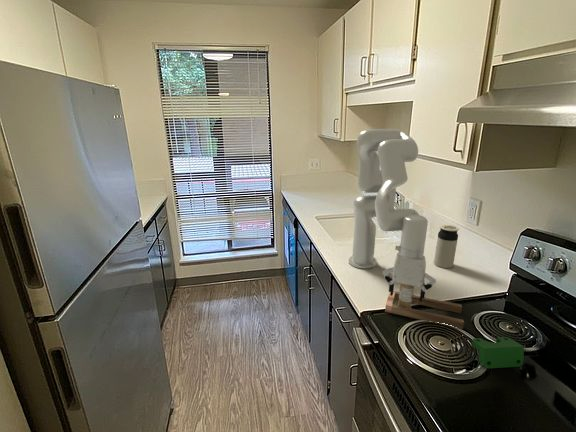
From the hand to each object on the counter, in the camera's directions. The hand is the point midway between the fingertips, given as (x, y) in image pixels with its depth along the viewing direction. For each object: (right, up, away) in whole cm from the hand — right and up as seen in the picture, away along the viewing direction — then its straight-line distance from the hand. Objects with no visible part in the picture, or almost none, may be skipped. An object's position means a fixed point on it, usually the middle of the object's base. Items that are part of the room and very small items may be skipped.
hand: (406, 296), depth 114 cm
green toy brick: (+16, -12, -23) cm, 31 cm away
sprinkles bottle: (0, -4, +1) cm, 5 cm away
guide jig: (+6, -5, -1) cm, 8 cm away
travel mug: (+29, +6, +34) cm, 45 cm away
